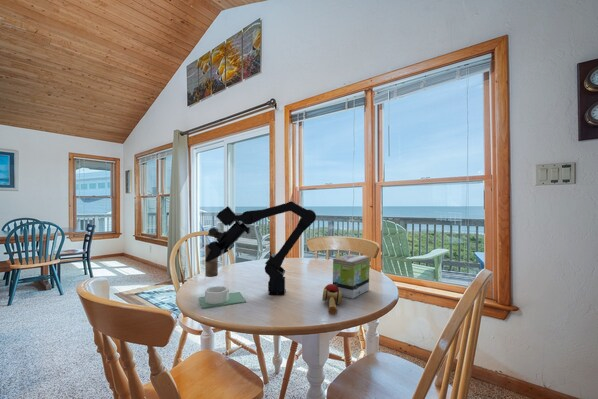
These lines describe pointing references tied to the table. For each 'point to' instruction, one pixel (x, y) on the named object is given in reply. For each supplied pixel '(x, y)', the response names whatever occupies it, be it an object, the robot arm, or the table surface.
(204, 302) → the putting mat
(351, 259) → the tea box
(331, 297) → the kendama
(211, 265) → the walnut peg
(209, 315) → the table surface
